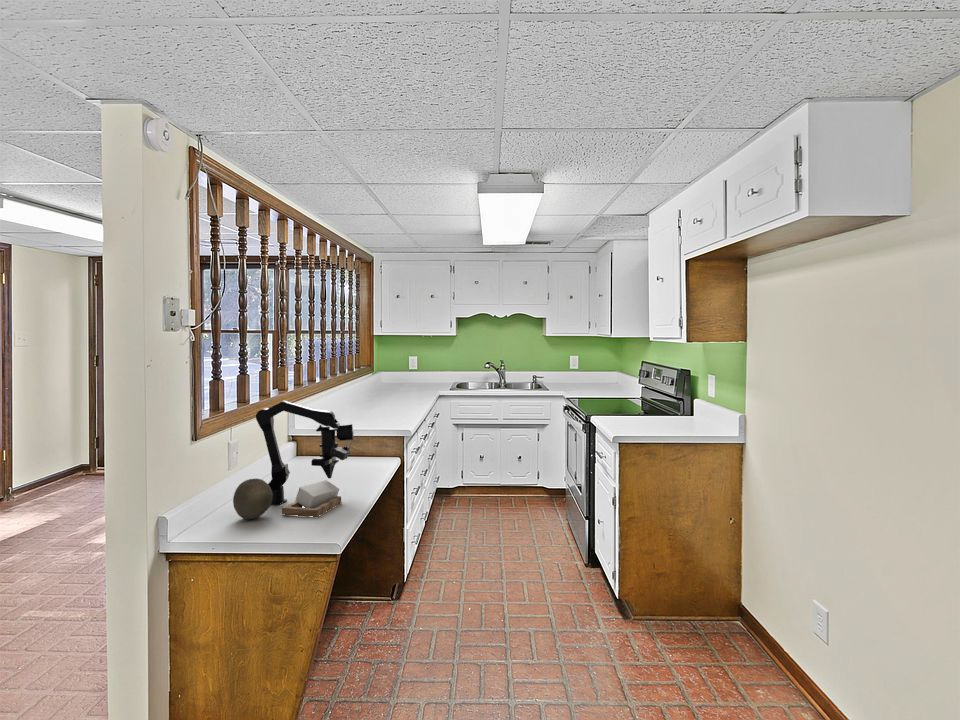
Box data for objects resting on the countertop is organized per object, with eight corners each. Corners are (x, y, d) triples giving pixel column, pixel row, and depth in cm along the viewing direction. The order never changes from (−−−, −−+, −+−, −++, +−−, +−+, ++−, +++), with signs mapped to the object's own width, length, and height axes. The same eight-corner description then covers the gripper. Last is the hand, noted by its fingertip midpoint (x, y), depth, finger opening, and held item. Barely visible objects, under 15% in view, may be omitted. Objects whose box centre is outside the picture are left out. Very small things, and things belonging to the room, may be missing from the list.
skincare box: (322, 492, 257) (294, 500, 243) (326, 478, 256) (298, 486, 242) (336, 502, 253) (308, 511, 240) (340, 488, 252) (313, 496, 238)
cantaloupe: (231, 526, 224) (230, 485, 223) (235, 515, 237) (234, 476, 236) (272, 522, 227) (271, 482, 227) (274, 511, 241) (272, 473, 240)
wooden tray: (317, 517, 232) (316, 510, 231) (281, 515, 235) (281, 507, 235) (341, 503, 250) (341, 496, 250) (308, 501, 254) (308, 494, 254)
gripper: (335, 446, 244) (336, 484, 245) (356, 437, 262) (357, 473, 263) (310, 445, 247) (311, 483, 248) (332, 437, 265) (333, 472, 266)
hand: (329, 478), depth 256 cm, fingers closed
